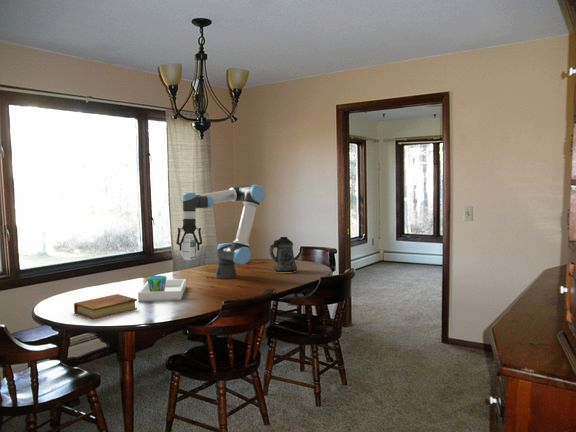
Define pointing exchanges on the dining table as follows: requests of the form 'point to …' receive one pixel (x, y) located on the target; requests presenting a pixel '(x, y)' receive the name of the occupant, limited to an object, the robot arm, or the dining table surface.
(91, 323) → the dining table surface
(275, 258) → the beer stein
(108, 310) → the diary
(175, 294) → the tote
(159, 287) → the snack cup
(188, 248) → the syrup box
